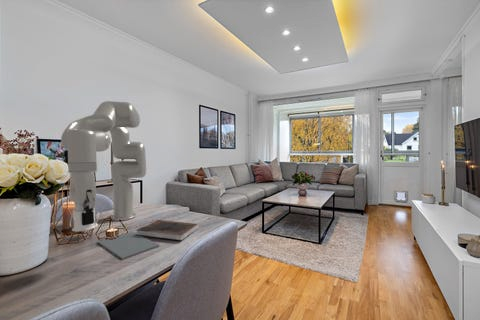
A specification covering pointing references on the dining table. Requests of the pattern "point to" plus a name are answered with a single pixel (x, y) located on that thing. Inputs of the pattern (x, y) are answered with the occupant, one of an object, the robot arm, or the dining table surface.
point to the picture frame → (167, 229)
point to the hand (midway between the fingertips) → (84, 221)
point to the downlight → (78, 219)
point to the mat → (128, 245)
